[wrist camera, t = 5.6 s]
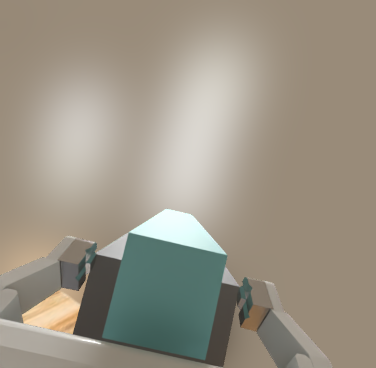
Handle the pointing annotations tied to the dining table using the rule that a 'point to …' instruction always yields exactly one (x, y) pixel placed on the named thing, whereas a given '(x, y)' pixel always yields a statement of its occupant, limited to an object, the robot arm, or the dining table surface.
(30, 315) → the dining table surface
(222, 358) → the tall grey pillar
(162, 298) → the bar
